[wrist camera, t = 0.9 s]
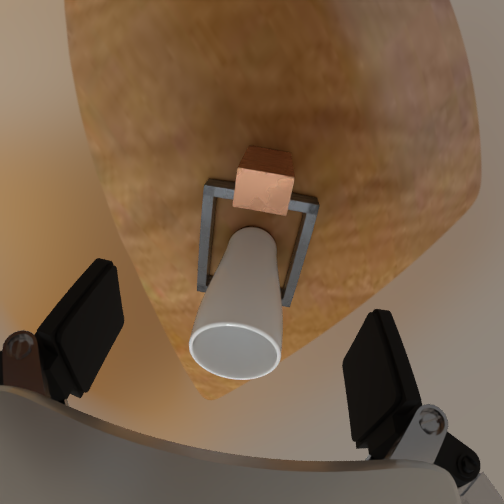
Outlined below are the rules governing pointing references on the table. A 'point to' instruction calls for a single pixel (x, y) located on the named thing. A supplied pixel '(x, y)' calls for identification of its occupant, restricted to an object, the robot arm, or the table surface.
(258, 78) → the table surface
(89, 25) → the table surface
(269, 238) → the drinking glass
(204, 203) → the frame
